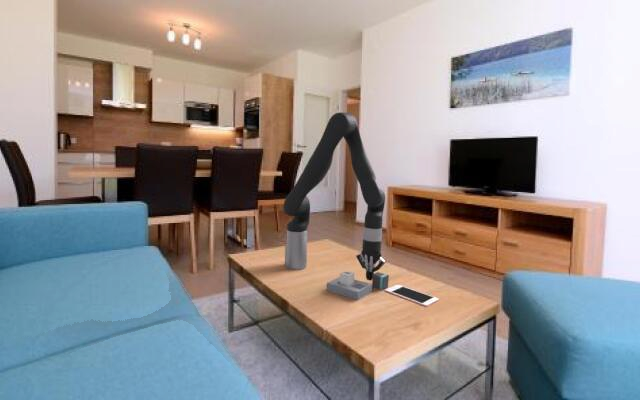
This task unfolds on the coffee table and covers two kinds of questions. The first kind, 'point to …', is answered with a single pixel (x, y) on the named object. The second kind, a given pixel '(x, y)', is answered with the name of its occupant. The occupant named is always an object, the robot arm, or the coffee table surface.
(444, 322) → the coffee table surface
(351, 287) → the outlet
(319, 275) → the coffee table surface
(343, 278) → the block
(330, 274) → the coffee table surface
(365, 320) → the coffee table surface
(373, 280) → the grey and blue block
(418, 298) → the cell phone
